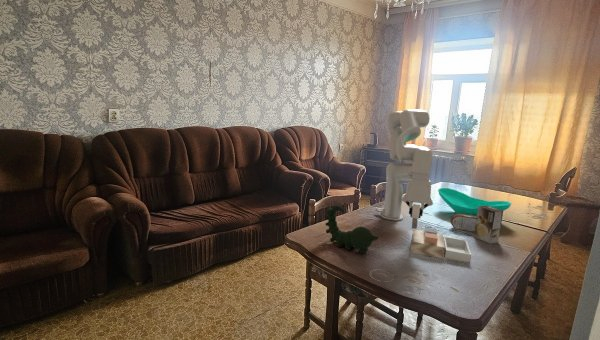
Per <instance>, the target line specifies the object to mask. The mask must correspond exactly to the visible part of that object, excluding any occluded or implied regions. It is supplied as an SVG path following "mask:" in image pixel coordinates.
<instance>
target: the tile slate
mask: <svg viewBox="0 0 600 340" xmlns="http://www.w3.org/2000/svg"><path fill="white" fill-rule="evenodd" d="M423 231H424V236H425V233H431V234H436V235H437V233H438V229H437V228H432V227H424V230H423Z"/></svg>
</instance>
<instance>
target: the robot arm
mask: <svg viewBox="0 0 600 340" xmlns="http://www.w3.org/2000/svg"><path fill="white" fill-rule="evenodd" d="M429 124H430V114H429V112H428V111H426V110H424V109H404V110H398V111H397V110H395V111H391V112H389V114H388V117H387V127H388V131H389V136H390V140H389V158H390V159H391V160H393V161H400V162H390V163H388V164H387V165H386V168H385V175H386V177H385V178H386V185H385V193H384V203H383V207H381V208H380V207H375V211H376V212H378V213H380V214H379V215H380V217H381V218H383V219H385V220H388V221H394V222H395V221H402V220H403V219H404V216H403V215H402V214H401V212H402V204H403V203H404V204H406V205H407V207H409V210H408V215H410V216H409V217H410V218H412V210H413V203H415V204H420V213H419V219H421V217H423V215H424V214H423V213H424V210H425V209H426V208H428V207H430V206H433V205H434V203H433V200H432V197H431V195H432V194H431V193H432V181H431V180H430V176H431V168H432V167H431V166H432V160H433V151H432V149H430V148H428V147H427V146H418V145H417V144H412V143H411V144H410V143H409V144H408V142H412V141H414V140H416V139H418V138H419V137H420V136H421V133H422V130H421V128H426V127H427V126H428V125H429ZM401 181H407V185H406V190H405V194H404V186H403V184H402V183H401Z"/></svg>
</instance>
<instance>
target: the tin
mask: <svg viewBox="0 0 600 340" xmlns="http://www.w3.org/2000/svg"><path fill="white" fill-rule="evenodd" d="M476 219H477V216H471V215H465V214H457V213H456V214H454V215H452V216H451V217H450V224H451V226H452V227H453V228H454V229H455V230H458V231H464V232H471V233H474V232H475V225H476Z"/></svg>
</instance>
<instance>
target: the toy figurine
mask: <svg viewBox="0 0 600 340" xmlns="http://www.w3.org/2000/svg"><path fill="white" fill-rule="evenodd" d="M338 211H341V212H343V213H344V212H345V210H344V208H343V207H342V206H341V205H334V206H332V207H331V208H328V210H326V211H325V214H327V216H325V219H326V220H327V222H326V223H325V224H324V225H325V226H326V227H328V228H327V229H326V230H325V233H327V234H331V237H330V239H329V241H330V242H331V243H334V242H335V241H336V246H337V248H341V247H343V246H344V248H345V250H347V251H348V250H351V249H352V248H355V249H358V252H359V253H360V254H361V255H365V254H366V253H367V252H368V251H369V250H368V249H369V247H370V246H371V245H372V243H373V241H377V240H378V239H379V237H378V236H376V235H374V234H373V233H372V232H371V230H370V229H368V228H367V227H365V226H357V227H355V228H353V229H352V230H348V231H344V230H340V228H339V226H338V221H337V220H336V219H337V216H336V212H338Z"/></svg>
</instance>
